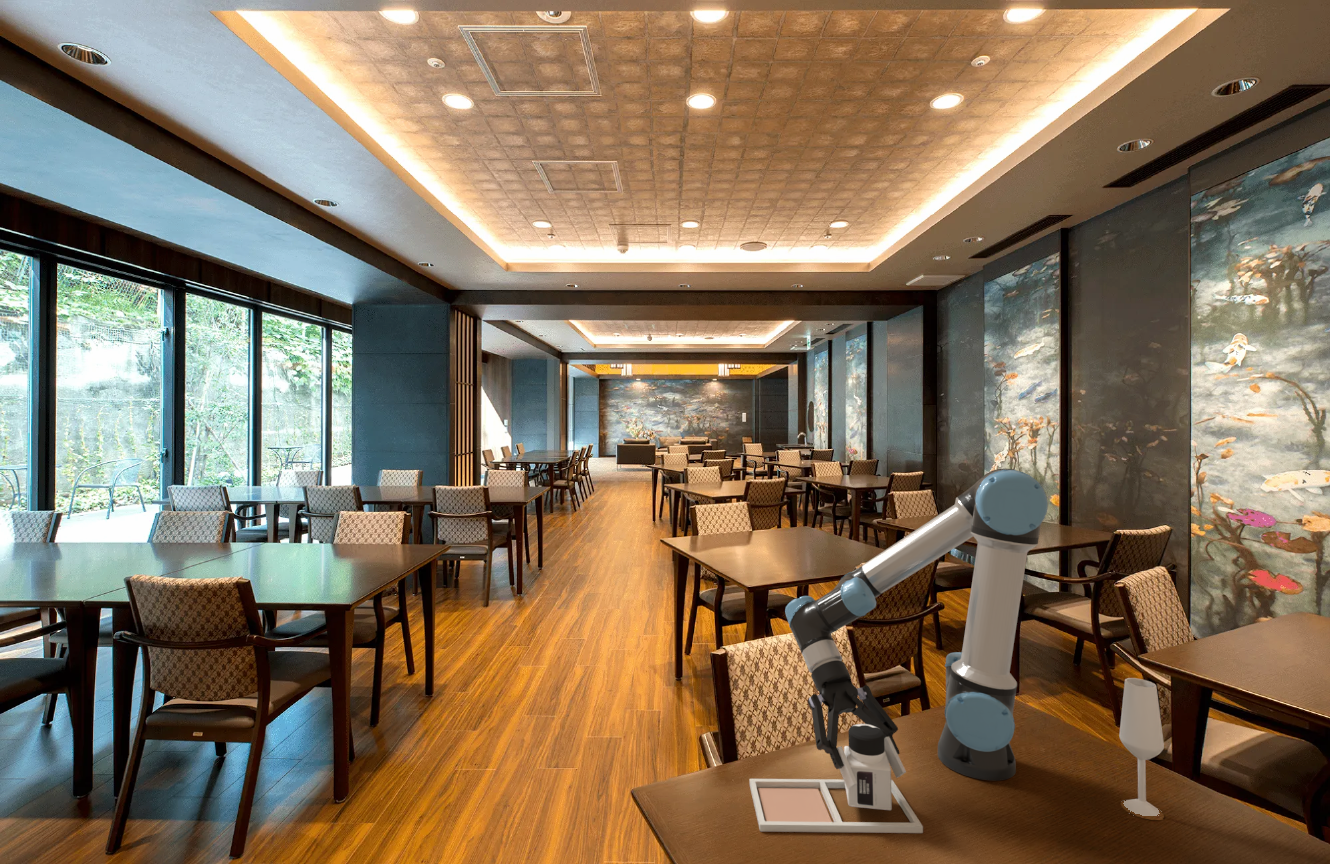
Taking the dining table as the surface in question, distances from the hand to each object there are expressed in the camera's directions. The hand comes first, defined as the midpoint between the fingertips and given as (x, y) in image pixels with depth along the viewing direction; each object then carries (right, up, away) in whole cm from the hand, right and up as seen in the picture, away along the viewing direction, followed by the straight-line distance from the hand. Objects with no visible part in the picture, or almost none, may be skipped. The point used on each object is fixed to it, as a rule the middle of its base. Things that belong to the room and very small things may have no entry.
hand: (877, 780), depth 114 cm
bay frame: (-8, -7, +3) cm, 11 cm away
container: (-1, -5, +3) cm, 6 cm away
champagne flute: (+51, -7, +2) cm, 52 cm away
